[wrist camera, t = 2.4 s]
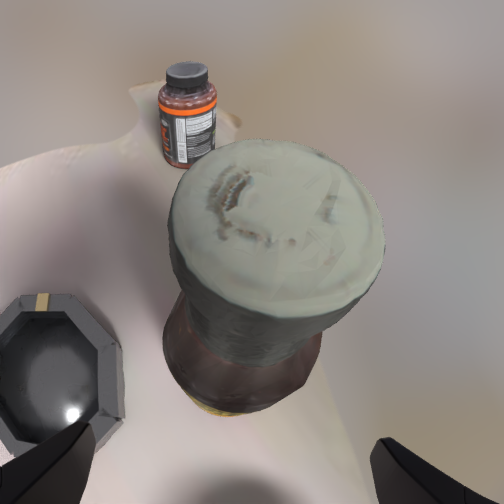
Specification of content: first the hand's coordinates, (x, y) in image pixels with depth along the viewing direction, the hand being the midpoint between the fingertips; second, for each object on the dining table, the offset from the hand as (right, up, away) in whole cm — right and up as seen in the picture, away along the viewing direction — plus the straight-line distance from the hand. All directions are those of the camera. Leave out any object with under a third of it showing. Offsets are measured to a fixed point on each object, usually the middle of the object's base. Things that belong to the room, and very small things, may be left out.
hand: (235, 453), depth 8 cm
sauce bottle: (-1, -4, +14) cm, 15 cm away
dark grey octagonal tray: (-16, -5, +12) cm, 21 cm away
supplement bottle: (-7, +17, +27) cm, 33 cm away
